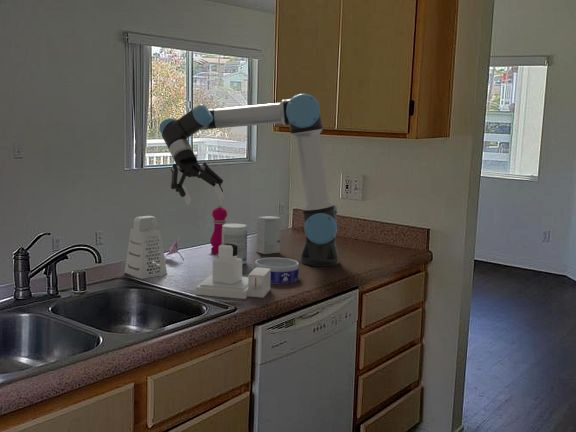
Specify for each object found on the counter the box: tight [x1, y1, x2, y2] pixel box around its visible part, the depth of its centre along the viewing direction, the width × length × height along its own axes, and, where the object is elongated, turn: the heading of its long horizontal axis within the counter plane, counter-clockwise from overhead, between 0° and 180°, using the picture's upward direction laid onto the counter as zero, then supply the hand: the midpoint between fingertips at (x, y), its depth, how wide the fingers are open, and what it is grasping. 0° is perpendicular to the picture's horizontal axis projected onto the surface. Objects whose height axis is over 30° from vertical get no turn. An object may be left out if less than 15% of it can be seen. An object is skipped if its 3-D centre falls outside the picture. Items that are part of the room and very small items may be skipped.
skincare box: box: [256, 215, 282, 255], centre depth 267 cm, size 8×6×15 cm
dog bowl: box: [254, 257, 300, 285], centre depth 226 cm, size 15×15×6 cm
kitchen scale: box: [195, 267, 271, 300], centre depth 208 cm, size 21×16×7 cm
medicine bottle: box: [212, 243, 243, 285], centre depth 208 cm, size 7×7×12 cm
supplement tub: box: [222, 223, 248, 266], centre depth 245 cm, size 10×10×15 cm
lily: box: [164, 236, 185, 261], centre depth 247 cm, size 12×12×10 cm
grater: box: [124, 215, 168, 280], centre depth 225 cm, size 10×10×20 cm
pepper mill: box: [210, 203, 228, 255], centre depth 263 cm, size 7×7×20 cm
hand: (206, 201), depth 223 cm, fingers open, 13 cm apart
